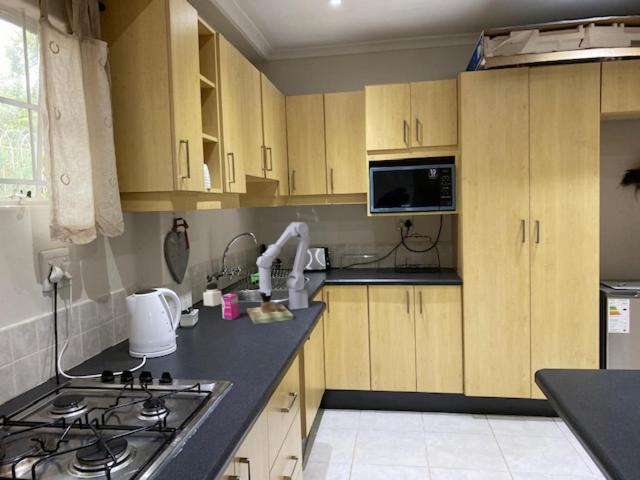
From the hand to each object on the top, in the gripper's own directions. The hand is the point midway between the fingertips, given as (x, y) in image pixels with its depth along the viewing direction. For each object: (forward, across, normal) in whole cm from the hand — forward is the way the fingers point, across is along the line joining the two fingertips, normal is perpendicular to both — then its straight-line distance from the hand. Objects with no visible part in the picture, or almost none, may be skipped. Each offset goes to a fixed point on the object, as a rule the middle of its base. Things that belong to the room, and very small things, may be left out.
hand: (266, 307), depth 229 cm
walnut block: (+1, +5, 0) cm, 5 cm away
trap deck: (+3, +6, 0) cm, 7 cm away
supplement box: (+3, +2, -18) cm, 18 cm away
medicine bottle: (+3, -34, -24) cm, 42 cm away
